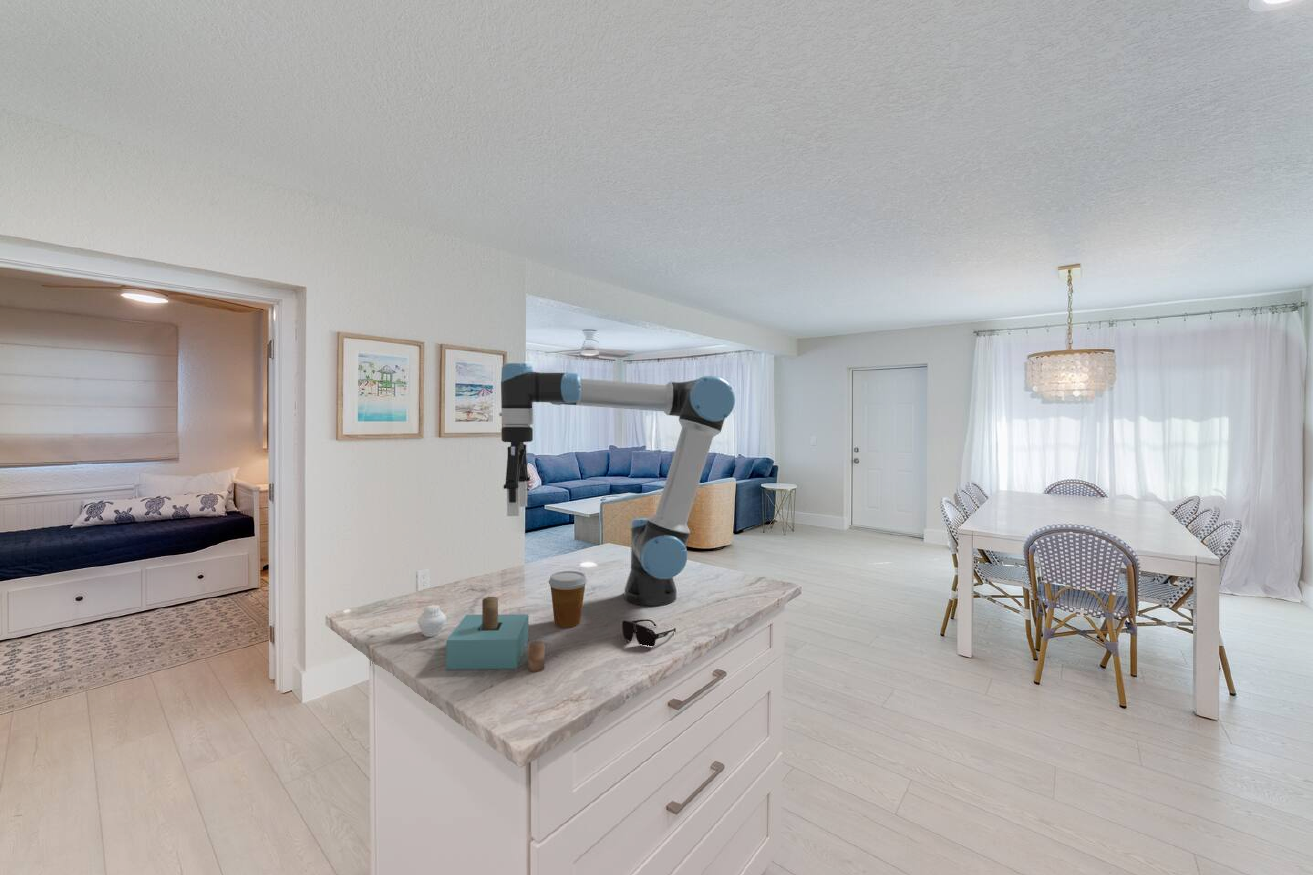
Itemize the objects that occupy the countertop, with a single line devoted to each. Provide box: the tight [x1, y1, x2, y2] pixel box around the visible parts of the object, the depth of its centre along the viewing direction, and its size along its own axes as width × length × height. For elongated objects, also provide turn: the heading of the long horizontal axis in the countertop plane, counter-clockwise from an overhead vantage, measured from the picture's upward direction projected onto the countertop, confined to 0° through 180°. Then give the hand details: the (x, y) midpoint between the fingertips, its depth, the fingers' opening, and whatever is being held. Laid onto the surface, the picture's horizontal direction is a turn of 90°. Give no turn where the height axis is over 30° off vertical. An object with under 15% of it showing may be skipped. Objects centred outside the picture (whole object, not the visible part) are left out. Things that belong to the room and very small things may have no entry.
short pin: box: [527, 640, 546, 673], centre depth 107 cm, size 3×3×5 cm
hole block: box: [445, 613, 530, 671], centre depth 114 cm, size 14×14×6 cm
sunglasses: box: [621, 618, 677, 647], centre depth 124 cm, size 11×12×5 cm
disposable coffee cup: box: [548, 570, 588, 629], centre depth 132 cm, size 10×10×12 cm
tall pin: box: [481, 596, 499, 631], centre depth 113 cm, size 3×3×12 cm
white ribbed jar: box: [417, 604, 447, 638], centre depth 123 cm, size 6×6×7 cm
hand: (517, 511), depth 131 cm, fingers open, 13 cm apart
